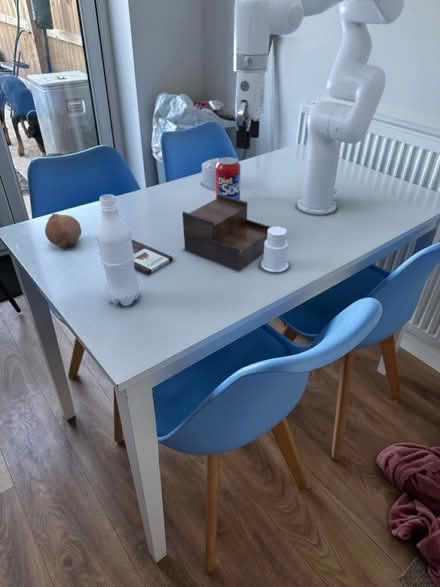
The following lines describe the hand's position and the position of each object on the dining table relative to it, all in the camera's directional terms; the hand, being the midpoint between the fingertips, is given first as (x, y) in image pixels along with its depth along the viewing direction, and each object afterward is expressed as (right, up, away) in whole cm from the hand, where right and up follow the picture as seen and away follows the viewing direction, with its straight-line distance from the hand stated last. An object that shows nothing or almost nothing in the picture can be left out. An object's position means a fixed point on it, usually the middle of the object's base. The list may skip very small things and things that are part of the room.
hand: (247, 142), depth 103 cm
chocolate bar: (-29, -27, +11) cm, 41 cm away
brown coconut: (-50, -23, +17) cm, 58 cm away
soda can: (-4, -8, +37) cm, 38 cm away
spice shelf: (-5, -24, +14) cm, 28 cm away
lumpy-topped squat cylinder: (-7, +3, +52) cm, 52 cm away
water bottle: (-29, -38, -5) cm, 48 cm away
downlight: (+7, -30, +6) cm, 31 cm away
